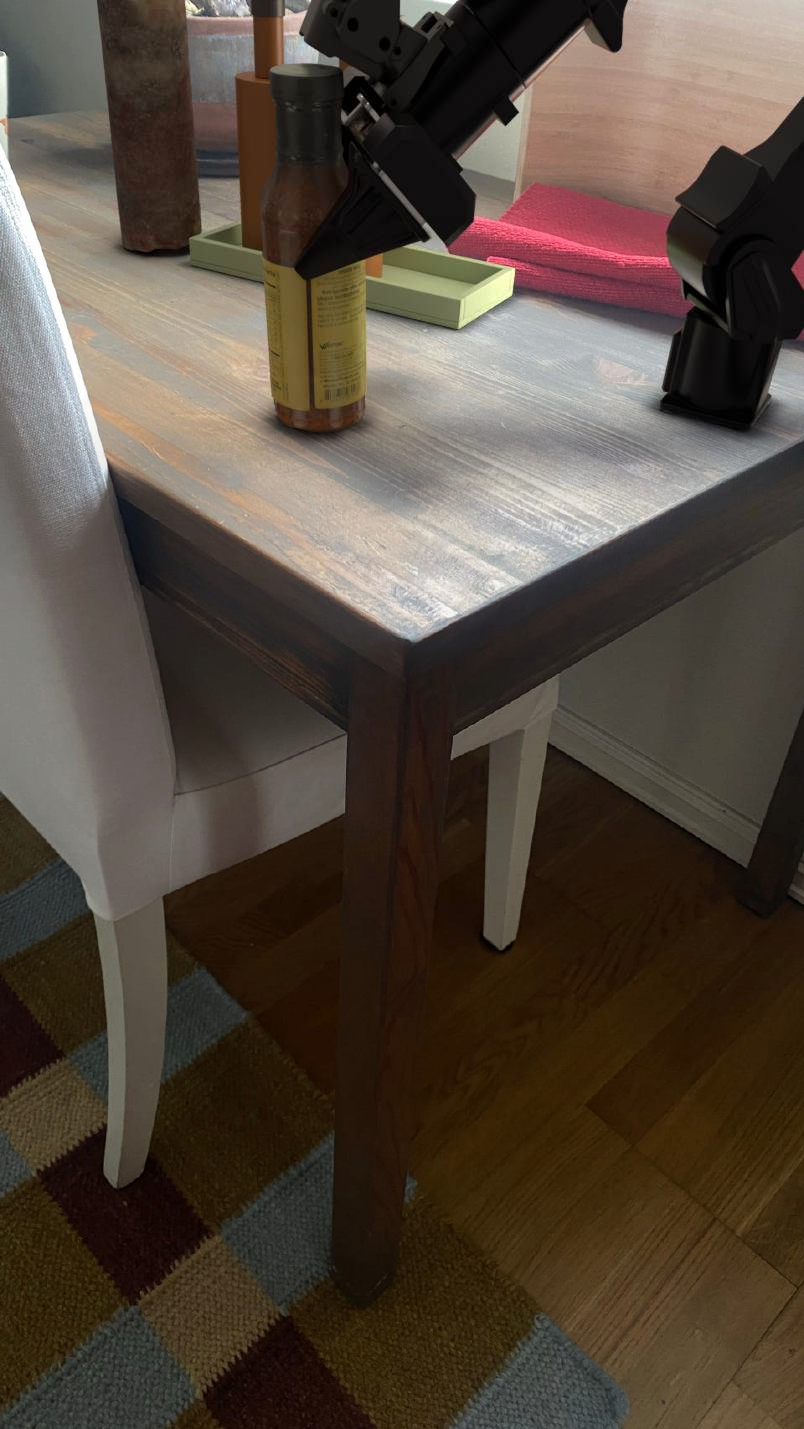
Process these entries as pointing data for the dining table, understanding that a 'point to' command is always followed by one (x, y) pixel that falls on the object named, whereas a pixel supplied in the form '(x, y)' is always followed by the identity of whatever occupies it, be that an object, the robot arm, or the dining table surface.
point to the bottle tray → (399, 285)
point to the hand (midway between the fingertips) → (293, 257)
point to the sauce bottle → (295, 200)
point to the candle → (151, 121)
